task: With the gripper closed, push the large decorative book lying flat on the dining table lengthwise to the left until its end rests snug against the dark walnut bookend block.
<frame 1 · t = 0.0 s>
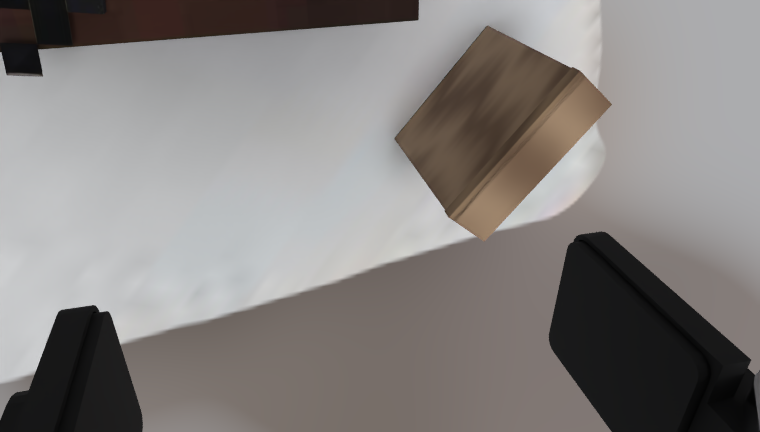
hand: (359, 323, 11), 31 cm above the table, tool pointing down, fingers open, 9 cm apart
bookend: (452, 95, 44), on the table
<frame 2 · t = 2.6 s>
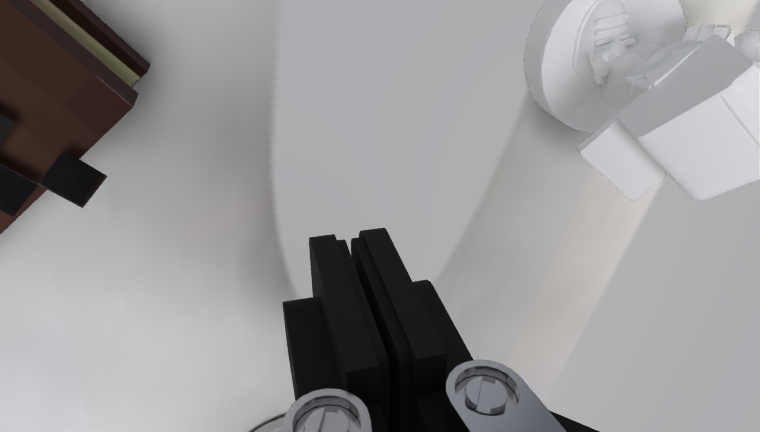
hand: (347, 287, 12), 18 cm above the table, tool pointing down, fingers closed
character figurine: (584, 56, 32), on the table
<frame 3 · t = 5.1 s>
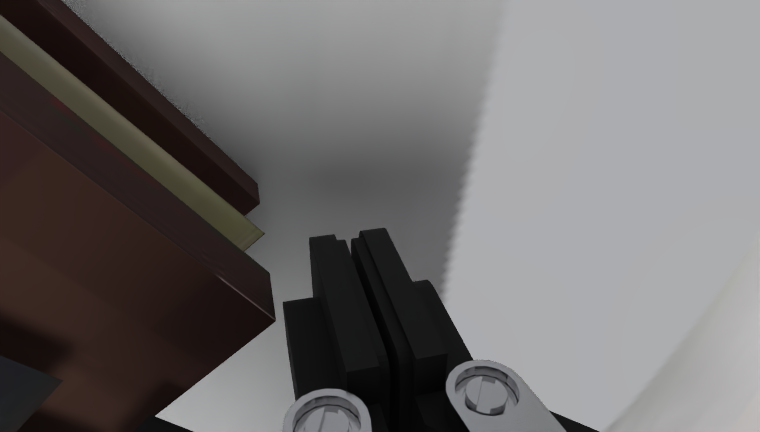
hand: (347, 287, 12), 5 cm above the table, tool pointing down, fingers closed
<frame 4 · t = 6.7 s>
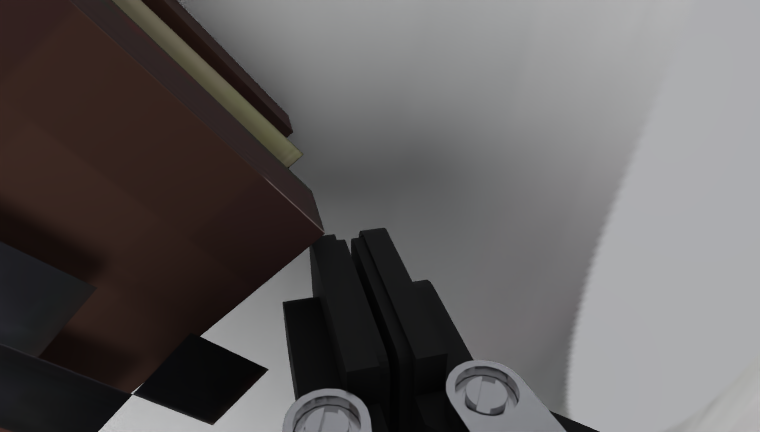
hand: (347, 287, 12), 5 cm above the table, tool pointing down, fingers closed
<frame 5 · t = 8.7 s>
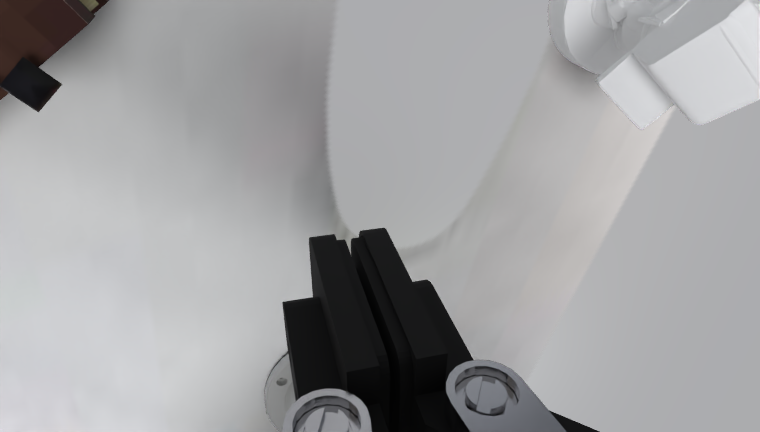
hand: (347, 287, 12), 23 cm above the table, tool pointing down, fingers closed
character figurine: (600, 8, 36), on the table
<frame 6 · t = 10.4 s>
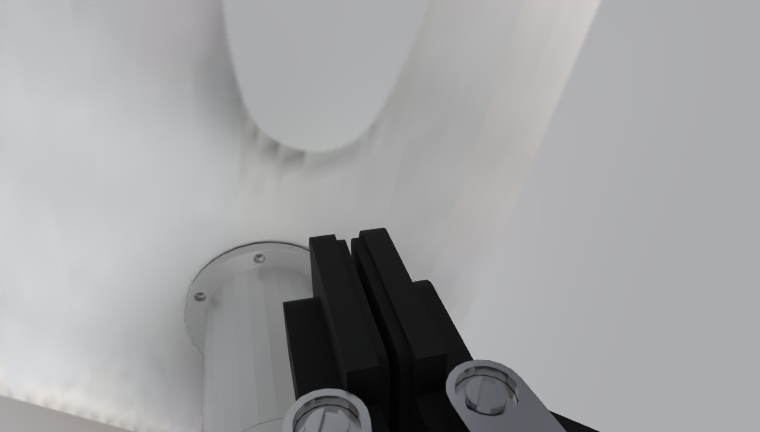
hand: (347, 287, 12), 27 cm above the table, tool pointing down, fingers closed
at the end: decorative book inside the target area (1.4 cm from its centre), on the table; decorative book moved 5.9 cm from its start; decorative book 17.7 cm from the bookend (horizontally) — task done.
